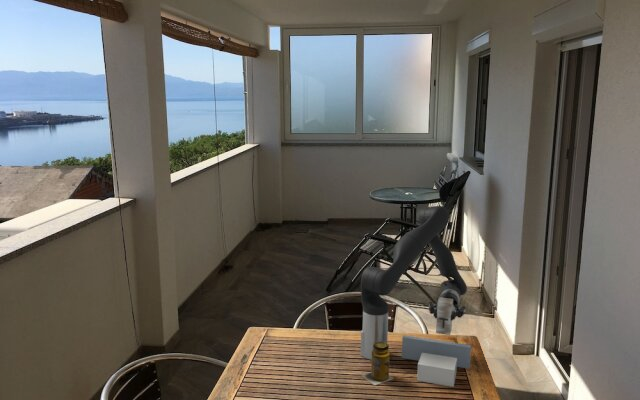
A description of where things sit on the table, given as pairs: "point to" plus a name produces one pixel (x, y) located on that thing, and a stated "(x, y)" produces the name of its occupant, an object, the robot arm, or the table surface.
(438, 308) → the lettered block
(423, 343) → the screen
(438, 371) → the plinth
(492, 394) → the table surface
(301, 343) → the table surface
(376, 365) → the condiment
